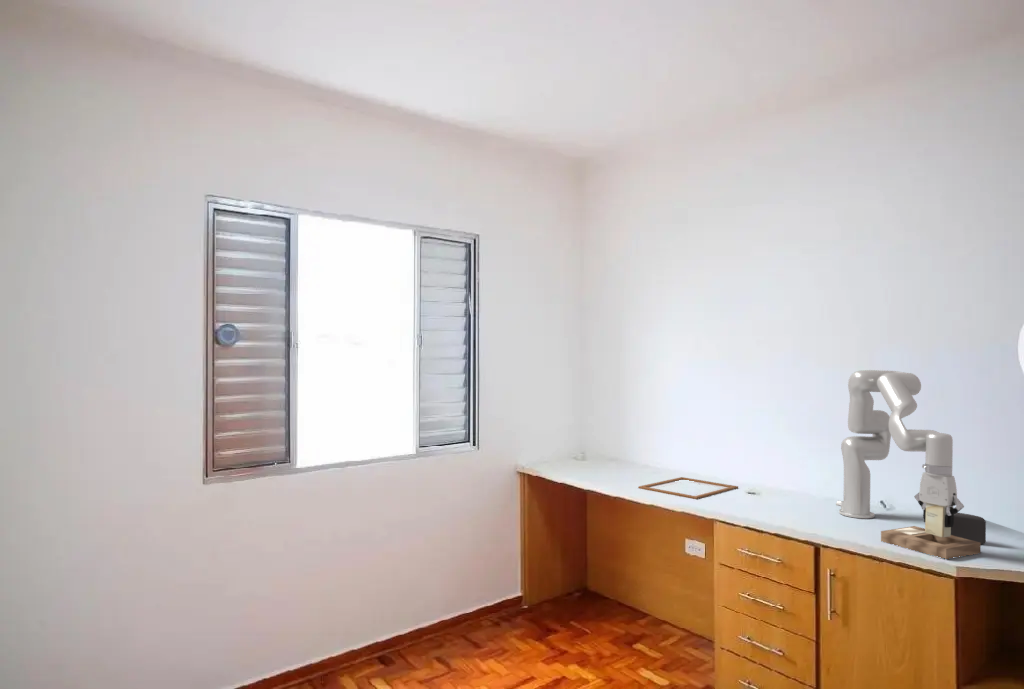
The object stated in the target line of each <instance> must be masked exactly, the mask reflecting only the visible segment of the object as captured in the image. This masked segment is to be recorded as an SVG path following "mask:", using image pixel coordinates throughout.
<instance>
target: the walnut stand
mask: <svg viewBox="0 0 1024 689" xmlns="http://www.w3.org/2000/svg"><path fill="white" fill-rule="evenodd" d="M882 541H883V543H885V542H886V544H889V543H890V545H892V544H894V545H893V546H896V545H898V546H897V547H899V546H901V547H900V548H903V547H904V549H906V548H908V549H907V550H910V549H911V550H910V551H913V550H915V551H914V552H917V551H919V552H918V553H920V552H923V553H922V554H924V553H926V554H925V555H927V554H930V555H929V556H931V555H934V556H938V557H941V558H945V559H948V560H950V559H949V558H953V557H958V558H962V557H961V556H964V557H967V556H966V555H969V556H973V554H974V555H978V553H979V554H981V549H982V548H981V546H982V545H981V543H980V542H976V541H972V540H968V539H964V538H960V537H956V536H952V535H951V536H949V537H939V536H935V535H932V534H929V533H926V532H925V527H924V528H923V527H920V526H916V525H913V526H907V527H906V526H904V527H899V528H893V529H887V530H881V531H880V542H882ZM934 556H933V557H934ZM959 556H960V557H959ZM938 557H937V558H938ZM941 558H940V559H941ZM945 559H944V560H945ZM953 559H954V558H953Z"/></svg>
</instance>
